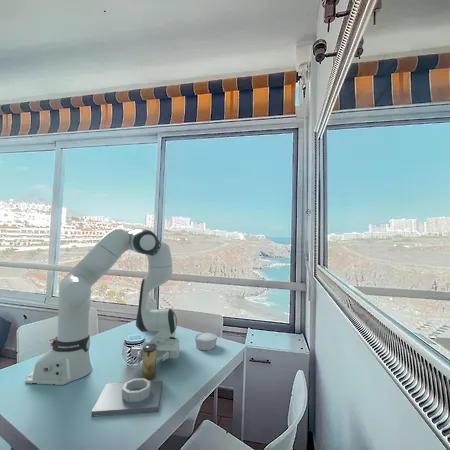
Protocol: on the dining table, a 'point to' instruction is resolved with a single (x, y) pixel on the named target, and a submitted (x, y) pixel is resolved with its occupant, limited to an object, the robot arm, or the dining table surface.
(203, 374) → the dining table surface
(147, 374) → the cylinder
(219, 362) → the dining table surface
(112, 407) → the socket base
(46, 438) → the dining table surface
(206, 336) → the ramekin
